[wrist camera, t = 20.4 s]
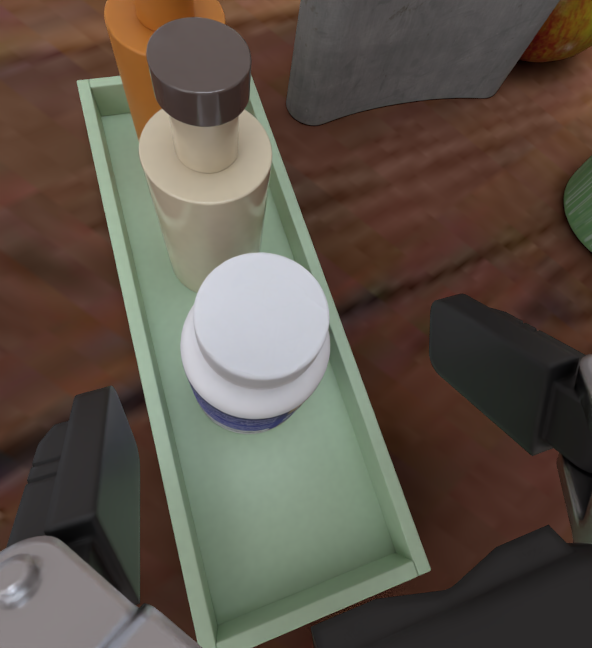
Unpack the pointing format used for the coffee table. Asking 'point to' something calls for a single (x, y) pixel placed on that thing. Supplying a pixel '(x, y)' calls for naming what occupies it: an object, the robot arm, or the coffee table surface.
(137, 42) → the amber bottle
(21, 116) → the coffee table surface
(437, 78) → the hip flask
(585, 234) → the ramekin
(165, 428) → the tray
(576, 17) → the fruit
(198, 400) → the pill bottle
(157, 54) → the cream bottle
